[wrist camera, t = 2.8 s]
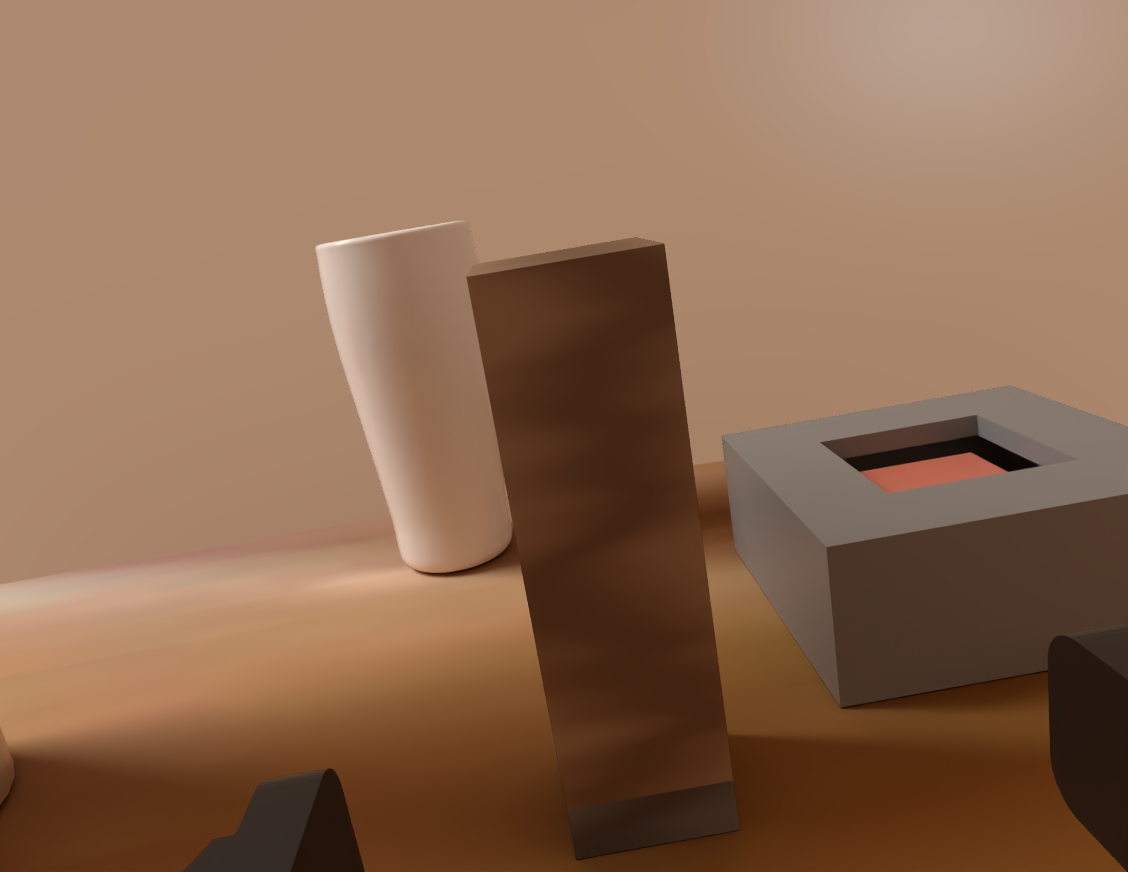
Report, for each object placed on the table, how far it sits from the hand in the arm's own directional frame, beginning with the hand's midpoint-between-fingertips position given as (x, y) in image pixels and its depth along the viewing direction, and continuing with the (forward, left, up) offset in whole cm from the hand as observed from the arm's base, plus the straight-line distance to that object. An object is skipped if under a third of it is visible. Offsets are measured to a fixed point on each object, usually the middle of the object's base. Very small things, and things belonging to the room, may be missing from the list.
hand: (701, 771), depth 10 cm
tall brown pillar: (0, +11, -9) cm, 14 cm away
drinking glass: (-6, +30, -9) cm, 32 cm away
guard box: (+12, +19, -9) cm, 24 cm away
